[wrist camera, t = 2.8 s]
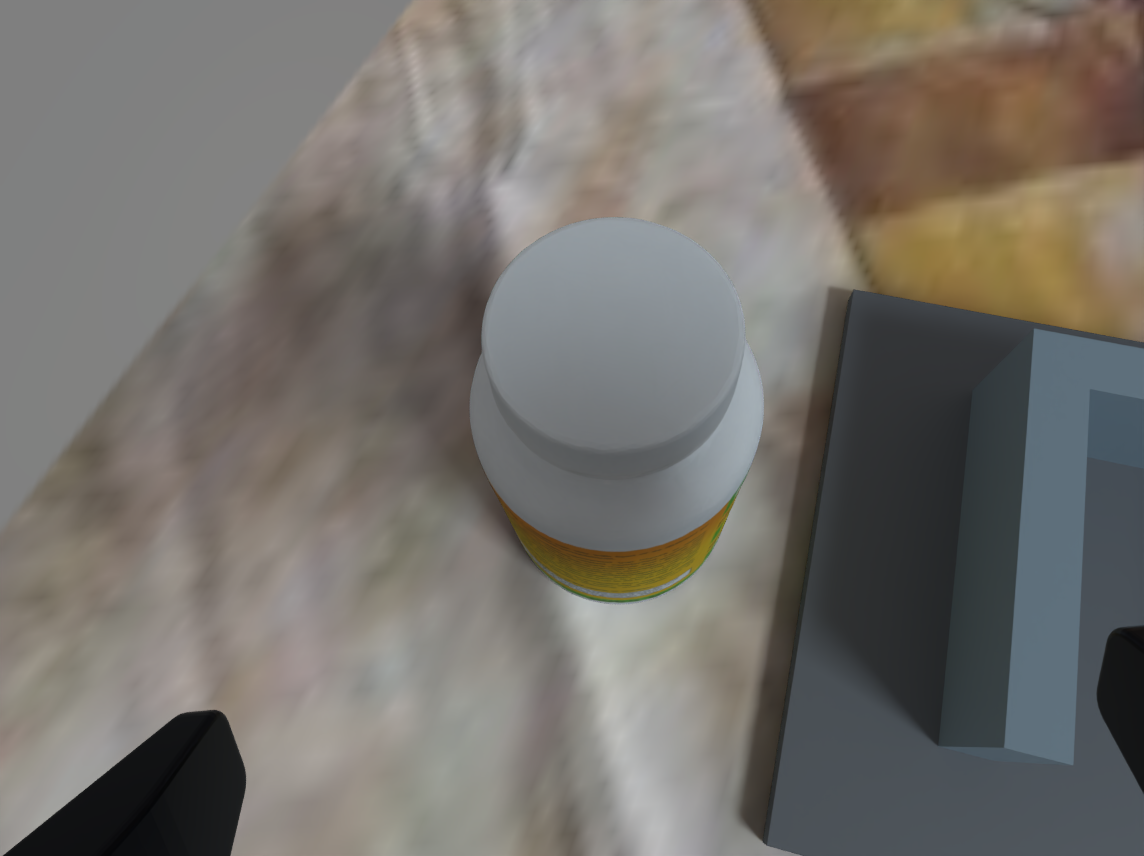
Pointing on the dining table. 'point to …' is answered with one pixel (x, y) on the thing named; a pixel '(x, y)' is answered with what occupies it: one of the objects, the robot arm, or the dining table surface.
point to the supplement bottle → (616, 405)
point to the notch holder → (966, 593)
